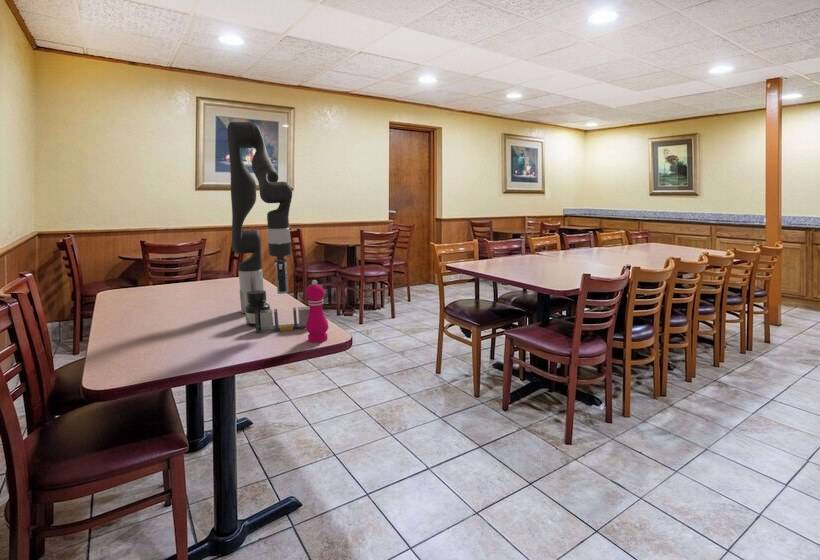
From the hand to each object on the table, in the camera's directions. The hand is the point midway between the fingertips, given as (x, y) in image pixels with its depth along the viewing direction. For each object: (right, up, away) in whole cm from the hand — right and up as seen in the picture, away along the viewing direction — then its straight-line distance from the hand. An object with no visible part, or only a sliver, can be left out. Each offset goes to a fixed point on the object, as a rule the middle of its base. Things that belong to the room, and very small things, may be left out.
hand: (282, 289), depth 171 cm
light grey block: (0, -1, 0) cm, 1 cm away
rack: (0, -14, +4) cm, 15 cm away
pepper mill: (+14, -17, -10) cm, 24 cm away
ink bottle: (-12, -13, +12) cm, 21 cm away
